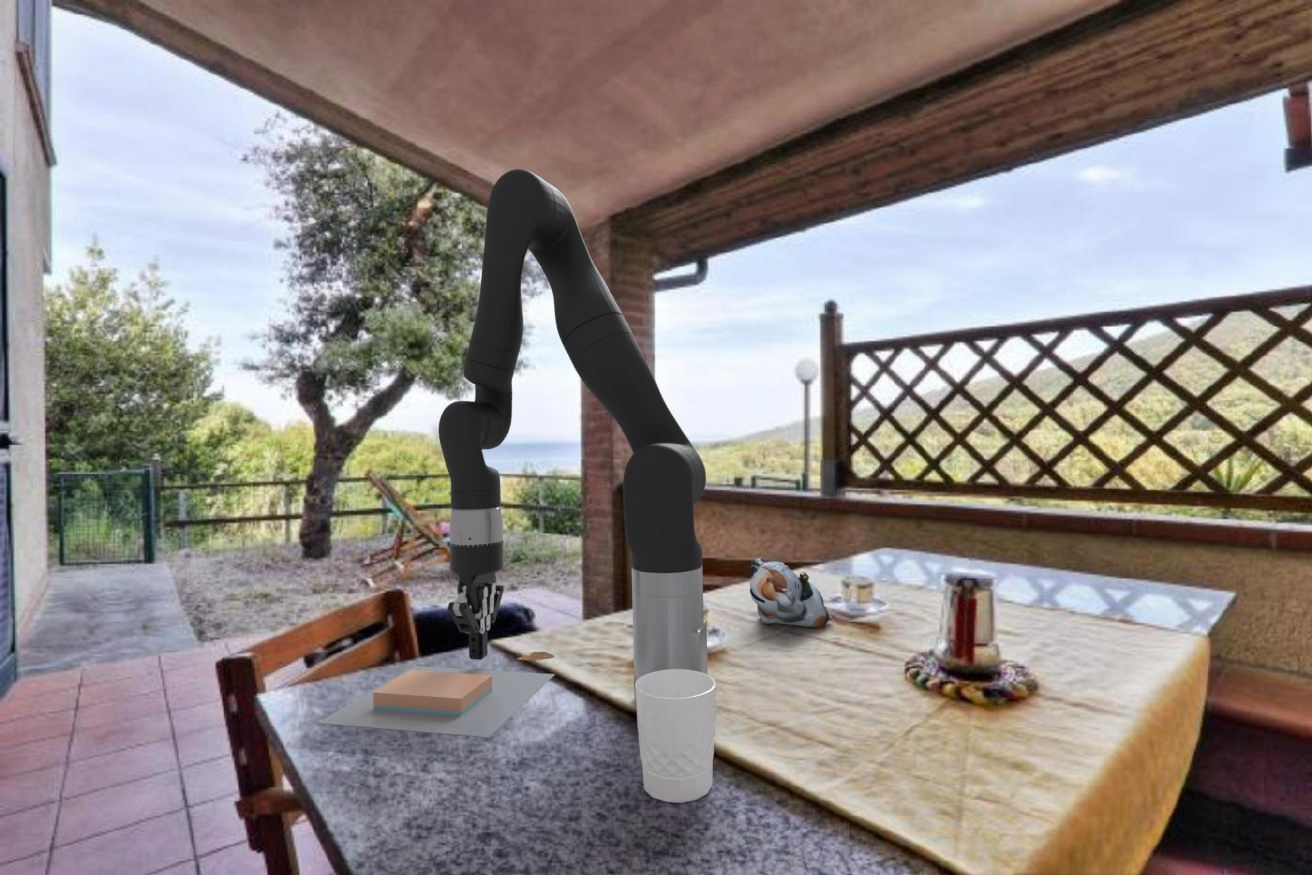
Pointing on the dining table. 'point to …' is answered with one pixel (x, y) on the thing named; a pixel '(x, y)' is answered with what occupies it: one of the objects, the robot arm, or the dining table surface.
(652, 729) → the white cup
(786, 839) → the dining table surface
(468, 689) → the tile
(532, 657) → the shard
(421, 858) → the dining table surface
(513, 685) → the board
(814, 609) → the lucky cat figurine
